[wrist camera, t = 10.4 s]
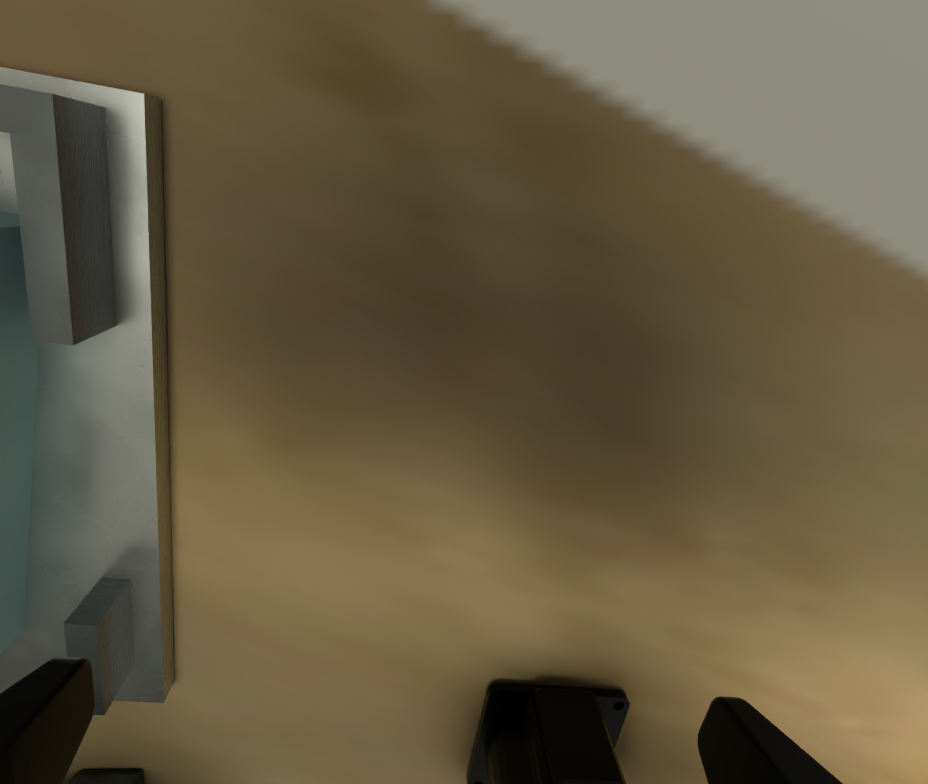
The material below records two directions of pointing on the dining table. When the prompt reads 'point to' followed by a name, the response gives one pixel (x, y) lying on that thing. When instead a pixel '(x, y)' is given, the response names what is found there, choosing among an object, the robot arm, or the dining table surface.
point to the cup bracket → (93, 381)
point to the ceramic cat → (108, 777)
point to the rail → (15, 428)
